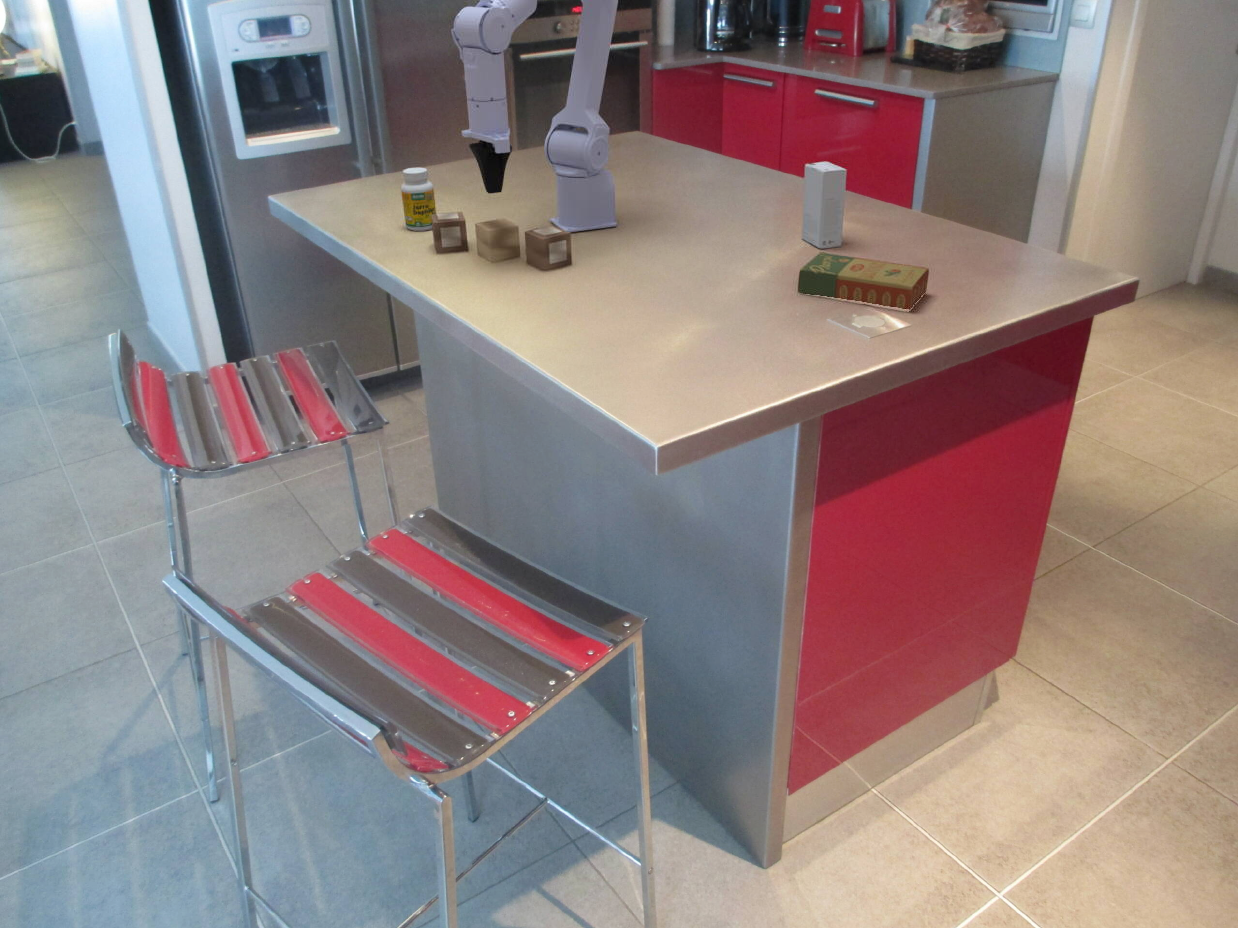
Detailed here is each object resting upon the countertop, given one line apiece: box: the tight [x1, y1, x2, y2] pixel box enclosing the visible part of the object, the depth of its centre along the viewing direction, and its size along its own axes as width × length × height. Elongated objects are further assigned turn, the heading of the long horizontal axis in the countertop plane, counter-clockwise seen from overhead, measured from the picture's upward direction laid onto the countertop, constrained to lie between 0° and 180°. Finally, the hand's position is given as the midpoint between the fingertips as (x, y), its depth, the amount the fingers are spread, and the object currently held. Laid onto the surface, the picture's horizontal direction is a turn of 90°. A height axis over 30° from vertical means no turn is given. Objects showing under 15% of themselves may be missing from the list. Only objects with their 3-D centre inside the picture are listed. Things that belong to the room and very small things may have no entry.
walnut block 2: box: [524, 224, 573, 272], centre depth 149 cm, size 5×5×5 cm
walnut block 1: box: [431, 211, 469, 254], centre depth 157 cm, size 5×5×5 cm
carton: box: [797, 252, 930, 310], centre depth 137 cm, size 8×16×4 cm, turn 60°
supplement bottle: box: [400, 167, 437, 232], centre depth 166 cm, size 5×5×10 cm
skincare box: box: [801, 161, 848, 250], centre depth 155 cm, size 6×4×12 cm
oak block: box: [474, 217, 521, 264], centre depth 153 cm, size 5×5×5 cm
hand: (494, 192), depth 150 cm, fingers closed
